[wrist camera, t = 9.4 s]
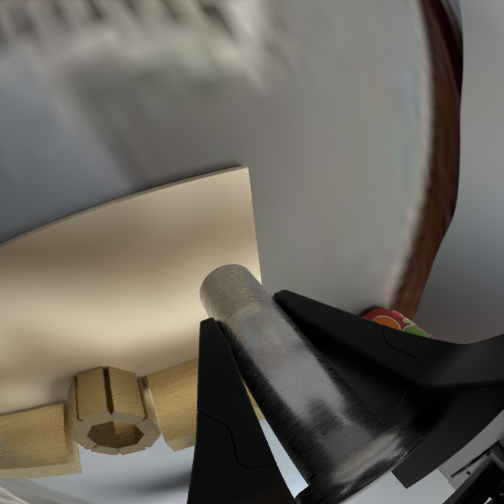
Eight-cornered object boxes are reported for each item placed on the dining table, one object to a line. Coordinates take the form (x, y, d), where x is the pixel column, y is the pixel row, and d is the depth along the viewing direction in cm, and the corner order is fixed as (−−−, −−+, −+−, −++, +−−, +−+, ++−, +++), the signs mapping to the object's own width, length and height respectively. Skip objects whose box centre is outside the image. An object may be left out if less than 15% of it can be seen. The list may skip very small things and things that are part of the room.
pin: (266, 305, 11) (400, 464, 5) (198, 331, 10) (305, 524, 4) (260, 242, 10) (445, 418, 4) (178, 268, 9) (314, 514, 3)
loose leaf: (75, 414, 14) (82, 472, 11) (0, 429, 12) (-1, 478, 8) (63, 402, 14) (67, 463, 10) (-12, 418, 11) (-16, 469, 8)
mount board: (268, 374, 22) (271, 380, 21) (16, 445, 14) (16, 450, 14) (242, 165, 13) (247, 167, 13) (-106, 302, 6) (-110, 308, 5)
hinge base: (257, 367, 20) (290, 419, 16) (94, 421, 16) (104, 480, 12) (248, 315, 17) (290, 373, 13) (54, 378, 13) (54, 447, 9)
